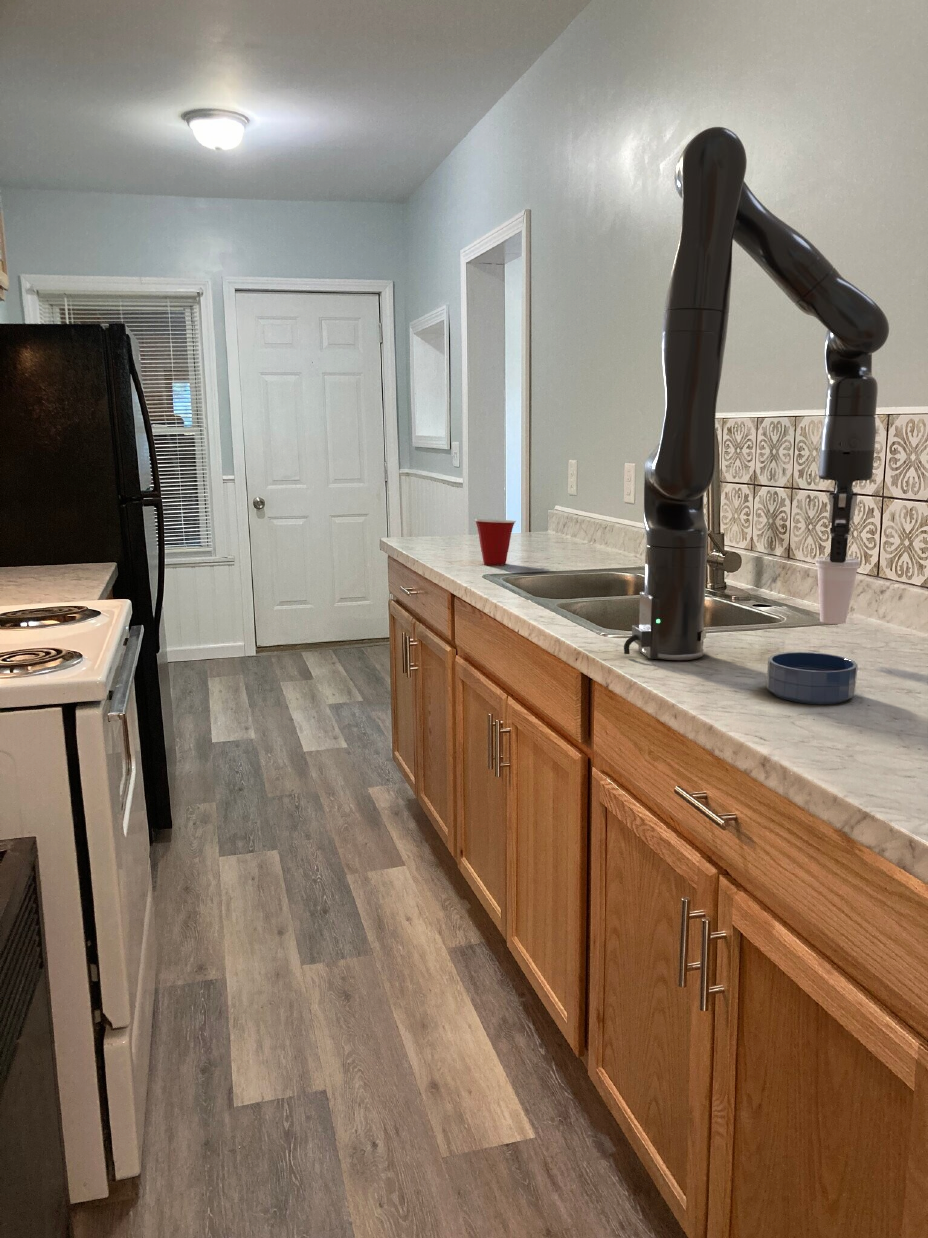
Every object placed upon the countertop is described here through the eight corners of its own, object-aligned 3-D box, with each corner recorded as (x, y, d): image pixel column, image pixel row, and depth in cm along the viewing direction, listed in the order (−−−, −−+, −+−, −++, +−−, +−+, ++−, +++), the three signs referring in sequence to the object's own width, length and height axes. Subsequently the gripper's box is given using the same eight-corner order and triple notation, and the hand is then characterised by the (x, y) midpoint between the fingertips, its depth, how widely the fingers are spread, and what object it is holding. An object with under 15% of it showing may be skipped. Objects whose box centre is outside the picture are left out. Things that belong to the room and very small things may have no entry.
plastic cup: (524, 563, 253) (524, 517, 251) (499, 568, 245) (499, 521, 243) (491, 560, 260) (491, 515, 258) (466, 564, 252) (466, 518, 249)
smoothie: (858, 626, 144) (867, 533, 142) (813, 624, 146) (821, 532, 143) (850, 618, 151) (858, 529, 148) (807, 616, 152) (814, 528, 149)
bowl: (790, 708, 122) (792, 673, 121) (752, 685, 133) (754, 653, 132) (871, 704, 123) (874, 669, 122) (828, 682, 134) (830, 650, 133)
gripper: (822, 446, 151) (814, 552, 154) (818, 447, 138) (809, 564, 141) (874, 447, 148) (864, 555, 151) (875, 448, 135) (864, 567, 138)
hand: (838, 559), depth 146 cm, fingers closed on smoothie, 6 cm apart
